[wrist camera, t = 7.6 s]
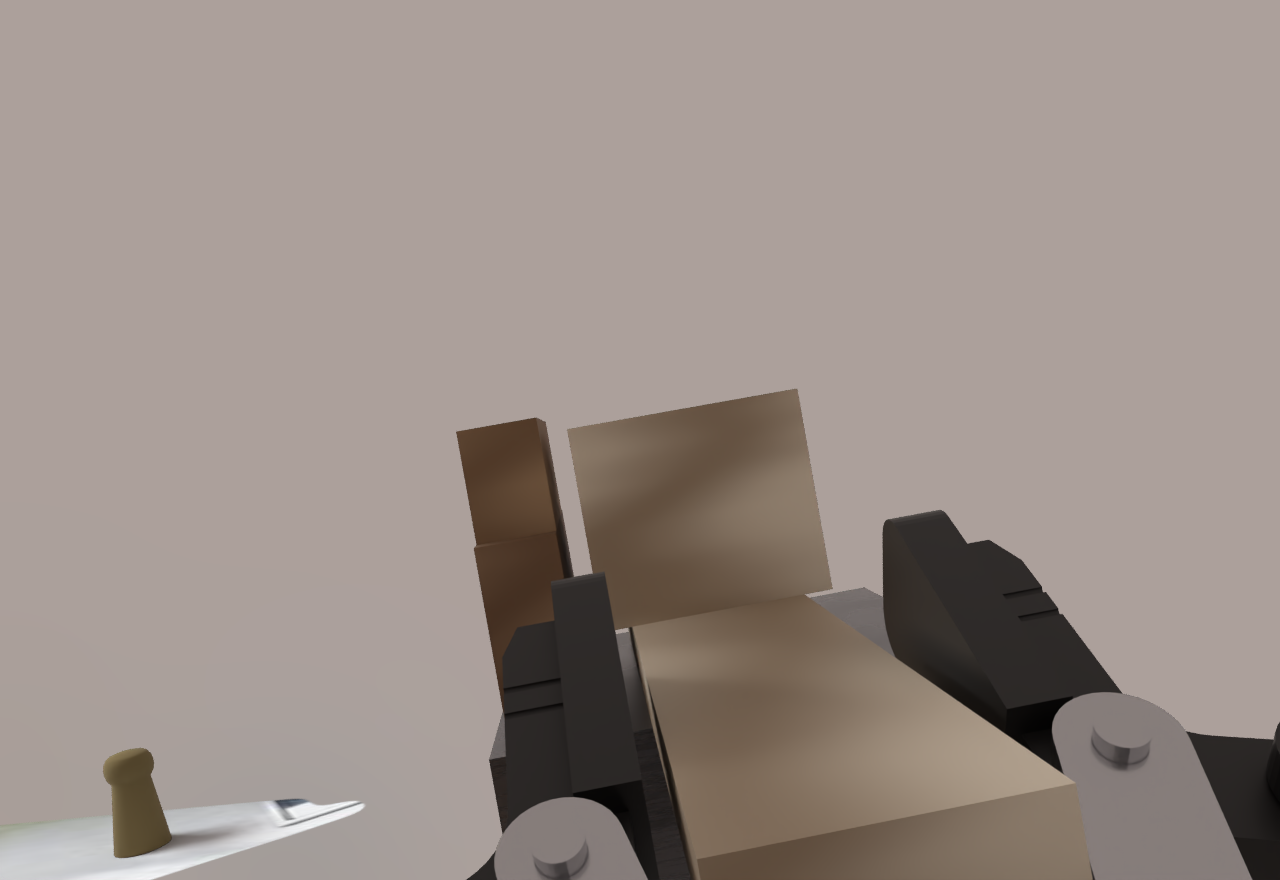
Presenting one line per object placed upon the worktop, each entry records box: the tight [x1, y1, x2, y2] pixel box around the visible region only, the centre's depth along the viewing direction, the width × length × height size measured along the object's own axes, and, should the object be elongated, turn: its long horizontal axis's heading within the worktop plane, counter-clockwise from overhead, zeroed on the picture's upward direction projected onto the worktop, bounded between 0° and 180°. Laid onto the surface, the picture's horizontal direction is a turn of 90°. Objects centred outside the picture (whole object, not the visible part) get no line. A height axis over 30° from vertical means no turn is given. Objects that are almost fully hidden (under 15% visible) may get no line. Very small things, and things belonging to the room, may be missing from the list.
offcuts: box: [456, 418, 574, 719], centre depth 21 cm, size 1×6×5 cm, turn 4°
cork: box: [103, 748, 172, 858], centre depth 121 cm, size 6×6×11 cm
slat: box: [567, 389, 1093, 880], centre depth 16 cm, size 4×16×5 cm, turn 3°
